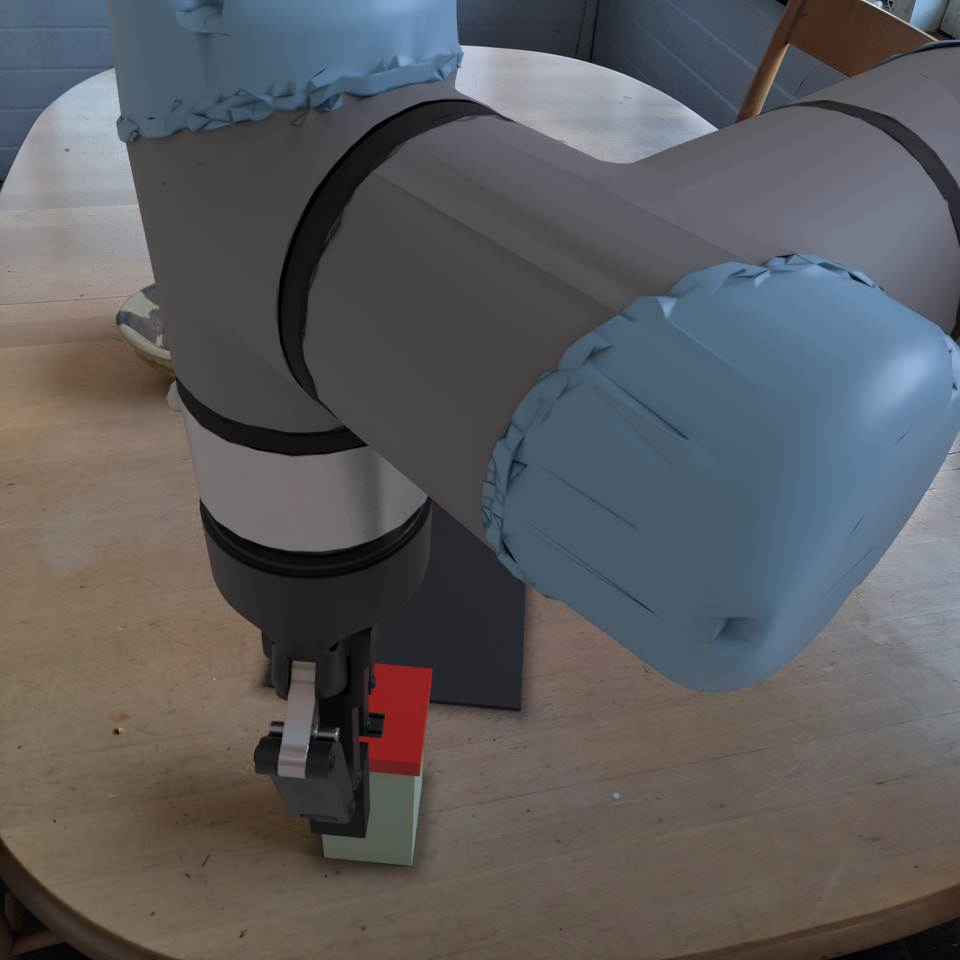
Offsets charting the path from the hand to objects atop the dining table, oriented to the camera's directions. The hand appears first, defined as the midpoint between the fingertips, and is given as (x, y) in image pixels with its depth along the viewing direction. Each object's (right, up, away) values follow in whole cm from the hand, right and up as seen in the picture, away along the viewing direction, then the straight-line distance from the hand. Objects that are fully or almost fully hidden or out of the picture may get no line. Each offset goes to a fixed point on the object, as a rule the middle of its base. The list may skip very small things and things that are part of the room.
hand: (340, 821), depth 45 cm
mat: (+1, +10, +37) cm, 38 cm away
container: (0, -7, +18) cm, 20 cm away
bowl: (-22, +28, +54) cm, 65 cm away
